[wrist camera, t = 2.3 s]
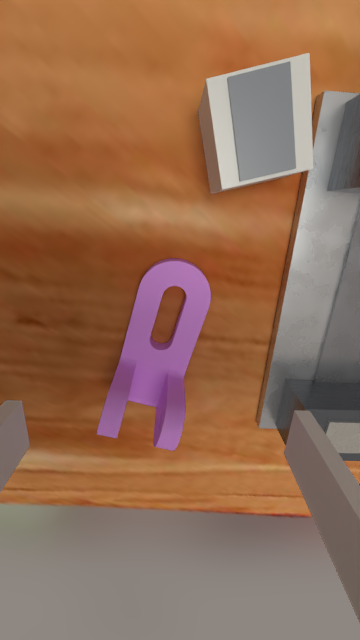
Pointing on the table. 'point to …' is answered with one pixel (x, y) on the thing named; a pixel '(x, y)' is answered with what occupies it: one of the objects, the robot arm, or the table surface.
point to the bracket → (158, 353)
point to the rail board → (321, 289)
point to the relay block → (257, 124)
